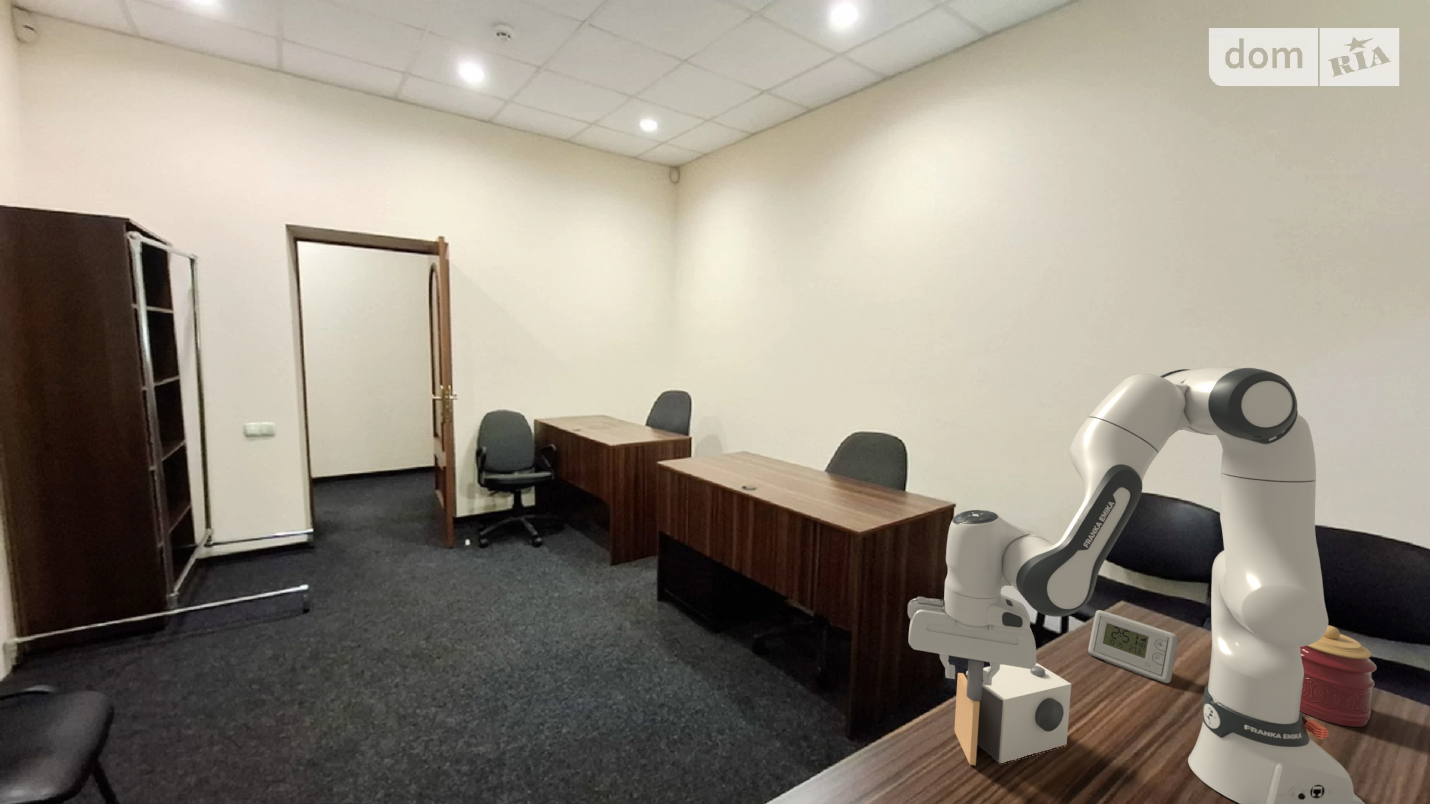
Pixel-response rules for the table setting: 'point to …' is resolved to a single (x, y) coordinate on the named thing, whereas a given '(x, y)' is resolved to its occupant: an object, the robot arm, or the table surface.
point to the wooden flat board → (969, 708)
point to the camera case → (1023, 712)
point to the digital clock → (1133, 645)
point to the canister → (1337, 680)
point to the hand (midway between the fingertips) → (967, 680)
